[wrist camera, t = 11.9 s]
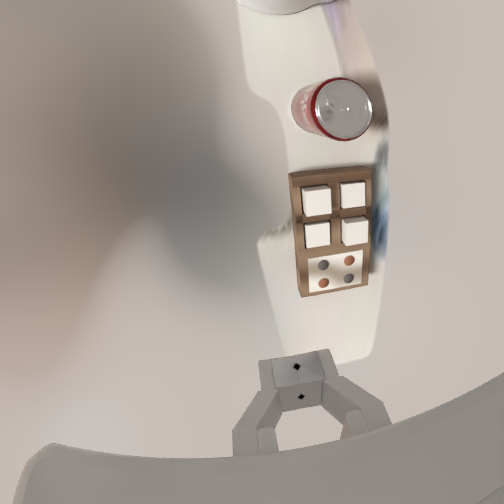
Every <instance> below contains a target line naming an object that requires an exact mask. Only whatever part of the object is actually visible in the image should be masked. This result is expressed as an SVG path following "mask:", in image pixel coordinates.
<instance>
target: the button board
mask: <svg viewBox="0 0 504 504" xmlns="http://www.w3.org/2000/svg"><path fill="white" fill-rule="evenodd" d="M288 178H289V188H290V198H291V208H292V219H293V230H294V242H295V255H296V268H297V283H298V290H299V292H300V295H301V298H302V297H307V296H313V295H319V294H324V293H330V292H335V291H340V290H345V289H350V288H356V287H361V286H365V285H368V275H369V261H370V242H371V197H372V196H371V170H370V169H368V168H366V167H364V166H357V167H345V168H334V169H324V170H315V171H306V172H297V173H289V174H288ZM357 180H361V181H363V182H365V206H360V207H352V208H344V209H343V208H342V207H341V206H340V190H339V182H347V181H357ZM324 184H325V185H327V186H328V187H329V188H330V189H331V210H332V213H331V214H323V215H316V216H309V217H307V216H306V215H305V213H304V212H303V205H302V193H301V187H307V186H315V185H324ZM359 215H363V216H364V217H365V218H366V219H367V220H368V243H362V244H356V245H350V246H346V245H345V244H344V243H343V241H342V240H341V218H344V217H351V216H359ZM322 220H328V222H329V223H330V245H325V246H319V247H312V248H307V247H306V245H305V243H304V230H303V223H308V222H315V221H322Z"/></svg>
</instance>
